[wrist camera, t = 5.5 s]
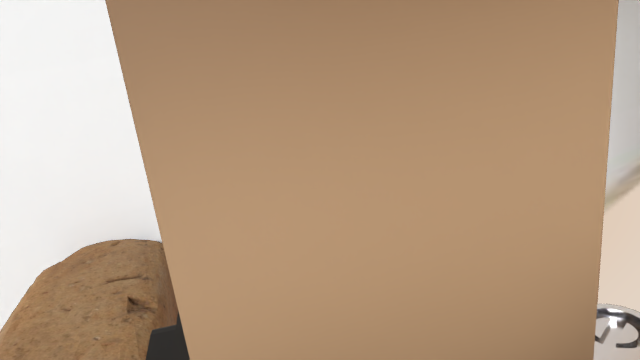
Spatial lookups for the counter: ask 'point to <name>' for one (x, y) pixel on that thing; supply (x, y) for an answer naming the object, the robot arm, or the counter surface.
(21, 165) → the counter surface
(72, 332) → the brown rounded tall lump
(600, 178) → the beam
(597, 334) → the robot arm
